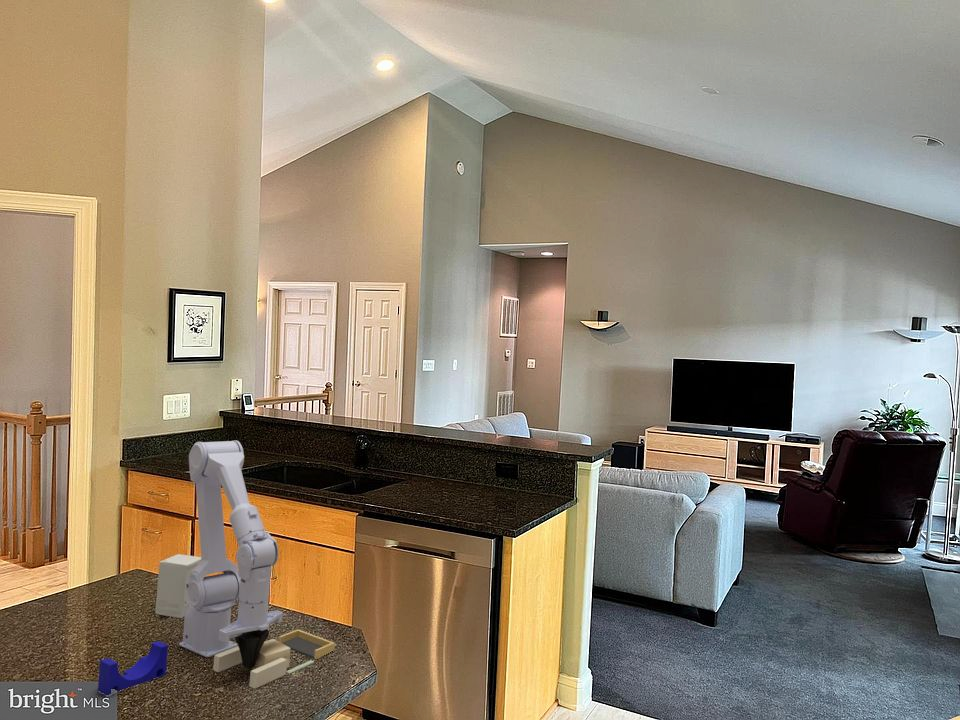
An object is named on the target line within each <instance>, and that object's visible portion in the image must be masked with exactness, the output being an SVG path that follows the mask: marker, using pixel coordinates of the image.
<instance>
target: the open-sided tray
mask: <svg viewBox="0 0 960 720" xmlns="http://www.w3.org/2000/svg"><path fill="white" fill-rule="evenodd" d="M278 641H279V642H280V643H282V644H284V645H286V646H288V647H290V648H291V650H292V651H294V652H296V653H299V654H301V655H303V656H306V657H309V658H312V659H315V660H317V659H319V658H322V657H325V656H327V655H328V653H329V654H331V653H332V652H331V651H333V650H334V651H335V646H336V643H335V642H333V641H331V640H328V639H325V638H323V637H321V636H318V635H314V634H311V633H309V632H306V631H304V630H301V629H294V630H292V631H290V632H288V633H284V634H282V635H280V636H279V637H278ZM334 651H333V652H334ZM330 652H331V653H330ZM326 654H327V655H326ZM324 655H325V656H324Z"/></svg>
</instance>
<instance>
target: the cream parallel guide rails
mask: <svg viewBox="0 0 960 720" xmlns="http://www.w3.org/2000/svg"><path fill="white" fill-rule="evenodd" d="M213 656H214V657H213V667H212V668H213V669H212V670H213V671H215V672H217V673H220V672H222V671H225V670H228V669H229V668H232V667H235V666H237V665H240V664H243V663H242V658H241V653H240V649H239V647H238V645H237V647H234V648H231V649H229V650H226V651H224V652H221V653H218V654H216V655H213ZM286 666H287V659H284V658H280V659H277V660H275V661H273V662H270V663H268V664H266V665H263V666H261V667H259V668H256V669H254V670H253V669H252V670H250V675H249V687H250V688H251V689H252V688H253V689H258V688H259V687H261V686H264V685H266V684H268V683H271V682H272V681H275V680H276V679H280V678H282V677H284V676H286V674H287V673H286V671H287V668H286Z"/></svg>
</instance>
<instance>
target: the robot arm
mask: <svg viewBox="0 0 960 720" xmlns="http://www.w3.org/2000/svg"><path fill="white" fill-rule="evenodd" d="M244 453H245V452H244V448H243V446H242V444H241V442H240V441H239V440H236V439H235V440H231V441H230V440H226V441H204V442H203V441H196V442H195V443H194V444H193V445H192V447H191V448H190V451H189V454H188V466H189V467H188V468H189V477H190V481H191V482H193V483H194V484H195V493H196V505H197V518H198V520H197V521H198V531H199V534H198V535H199V547H200V557H201V562H200V563H199V564H198V565H197V566H196V567H195V568H194V569H193V570H192V571H191V572H190V574H189V586H188V599H189V602H190V604H191V605H190V606H189V607H188V609H187V611H186V613H185V616H184V617H183V635H182V641H181V642H179V643H178V645H179V646H180V647H183V648H184V649H186V650H189V651H191V652H192V653H195V654H198V655H200V656H202V657H205V658H210V657H211V658H212V657H213V656H214V655H216V654H219V653H222V652H224V651H227V650H229V649H232V648H235V647H237V646H238V647H239V649H240V653H241V658H242V663H241V664H242V667H244V668H245V669H249V670H251V669H252V668H253V667H254V666H255V663H256V660H257V657H258V655H259V652H260V650H261V647H262V645H263V644H264V642H265V641H267V639H268V637H269V636H270V630H269V629H270V625H272V624H274V623H276V624H279V623H282V622H283V615H284V612H283V611H280V610H272V611H269V602H270V601H269V599H270V585H271V576H272V566H275V565H276V563H277V562H278V559H279V547H278V546H279V545H278V543H277V541H276V539H275V538H274V537H272V536H271V534H270V533H269V532H268V531H267V532H266V530H265V525H264V523H263V521H262V517H261V515H260V512H259V510H258V507H257V506H256V505H252V504H251V503H250V501H249V495H248V492H247V487H246V484H245V483H246V482H245V479H244V477H243V472H242V469H243V466H244V463H245V454H244ZM222 489H223V492H224V494H225V496H226V499H227V501H228V503H229V505H230V507H231V510H232V511H231V513H230V515H229V521H230V524H231V525H230V526H231V527H232V531H233V533H234V537H235V539H236V542H237V546H238V548H237V551H235V552H236V553H235V557H236V562H237V564H236V563H235V562H233V561H231V560H230V559H229V558H227V551H226V550H227V548H226V535H225V524H224V522H225V521H224V512H223V499H222ZM216 573H219V574H216ZM210 574H212V575H210ZM236 601H238V607H237V619H236V620H234V621H233V622H232V623H231V617H232V607H233V606H235V605H236V604H235V603H236ZM233 638H234V640H235V642H234V641H231V639H233Z"/></svg>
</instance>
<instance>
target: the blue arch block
mask: <svg viewBox="0 0 960 720" xmlns="http://www.w3.org/2000/svg"><path fill="white" fill-rule="evenodd" d="M168 651H169V645H168V644H166V643H164V642H162V641H161V640H160V641H159V640H157V641H155V642H151V646H150V650H149V653H148V654H147V655H146V656H143V657H140V658H139V659H138V661H136V662H135V664H134V665H133V666H130V668H128V669H126V670H124V671H123V674H121V673H120V671H119V667H118V666H119V664H118V662H117V661H116V660H113V659H111V658H108V657H107V658H104V659H100V661H99V671H98V673H99V674H98V683H97V685H98V686H97V692H98V691H100V692H101V693H104V694H105V695H109V694H111V689H115V690H117V691H120V690H122V689H125V688H128V687H131V686H134V685H137V684H140V683H143V682H146V681H148V682H150V681H149V680H151V681H153V680H155V679H154V678H156V679H158V678H161V677H164V676H166V675H167V664H168V663H167V662H168V653H169V652H168ZM163 675H164V676H163ZM160 676H161V677H160ZM157 677H158V678H157ZM152 679H153V680H152ZM146 683H147V682H146ZM143 684H144V683H143Z"/></svg>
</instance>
